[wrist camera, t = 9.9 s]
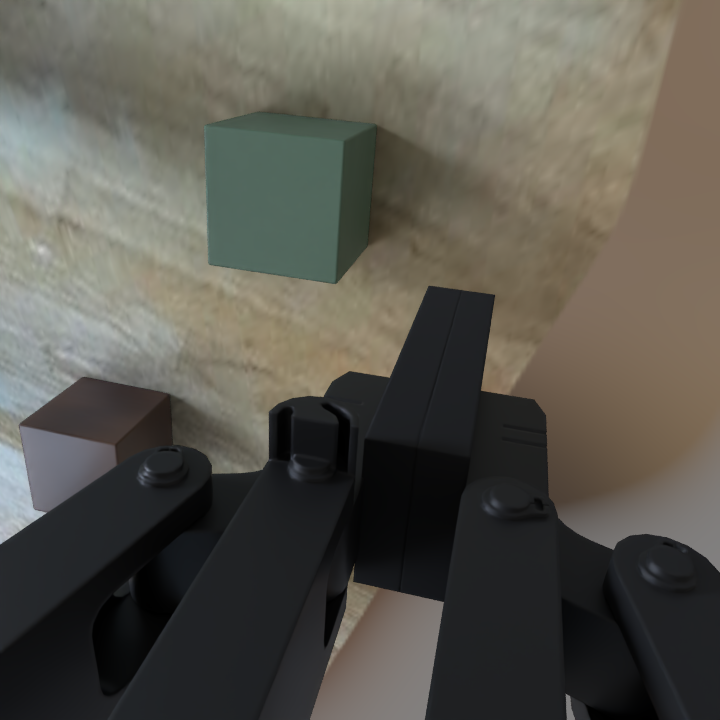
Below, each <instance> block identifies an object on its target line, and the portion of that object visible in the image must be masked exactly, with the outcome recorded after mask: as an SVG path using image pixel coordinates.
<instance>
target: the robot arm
mask: <svg viewBox="0 0 720 720" xmlns="http://www.w3.org/2000/svg"><path fill="white" fill-rule="evenodd" d="M494 299H495V295H493V294H485V293H478V292H471V291H464V290H456V289H449V288H442V287H435V286H428V289H427V291H426V293H425V296H424V298H423V301H422V303H421V305H420V308H419V310H418V312H417V315H416V317H415V320H414V322H413V324H412V327H411V329H410V331H409V334H408V336H407V339H406V341H405V343H404V346H403V348H402V350H401V353H400V355H399V357H398V360H397V362H396V365H395V367H394V369H393V372H392V374H391V376H390V378H388V377H382V376H376V375H370V374H363V373H357V372H351V371H349V372H348V373H346V374H344V375H342V376H341V377H339V378H337V379H336V380H334V381H332V383H331V385H330V386H329V388H328V390H327V392H326V393H325V395H324V397H314V396H306V397H299V398H292V399H289V400H287V401H284V402H281V403H279V404H277V405H276V406H275V407H274V408H273V409H272V410H270V411H269V460H268V462H267V463H266V465H265V467H264V468H263V470H260V471H256V472H248V473H231V474H212V465H211V463H210V461H209V460H208V458H207V456H206V455H204V454H202V453H201V452H199V451H197V450H196V449H193V448H189V447H184V446H180V445H176V446H173V445H172V446H169V445H168V446H158V447H154V448H150V449H145V450H143V451H141V452H139V453H137V454H135V455H133V456H131V457H129V458H127V459H126V460H124V461H123V462H121V463H120V464H119V465H117V466H116V467H114V468H113V469H111V470H110V471H108V472H107V473H105V474H104V475H102V476H101V477H99V478H98V479H96V480H95V481H93V482H92V483H90V484H89V485H88V486H86V487H85V488H83V489H82V490H80V491H79V492H77V493H76V494H74V495H73V496H71V497H70V498H68V499H67V500H65V501H64V502H62V503H61V504H59V505H58V506H57V507H55V508H54V509H52V510H51V511H49V512H48V513H46V514H45V515H43V516H42V517H40V518H39V519H37V520H36V521H34V522H33V523H31V524H30V525H28V526H27V527H26V528H24V529H23V530H21V531H20V532H18V533H17V534H15V535H14V536H12V537H11V538H9V539H8V540H6V541H5V542H3V543H2V544H0V720H310V716H311V714H312V710H313V708H314V705H315V701H316V698H317V695H318V692H319V689H320V686H321V683H322V680H323V677H324V674H325V671H326V668H327V665H328V661H329V658H330V655H331V652H332V649H333V646H334V643H335V640H336V637H337V634H338V631H339V628H340V625H341V621H342V618H343V615H344V612H345V609H346V600H347V586H348V581H349V578H350V575H351V572H352V569H353V566H354V564H355V567H354V580H353V582H357V583H361V584H366V585H370V586H375V587H379V588H384V589H389V590H393V591H397V592H402V593H406V594H411V595H415V596H420V597H424V598H429V599H433V600H438V601H442V602H444V606H443V612H442V618H441V624H440V630H439V636H438V642H437V649H436V655H435V661H434V667H433V674H432V679H431V686H430V692H429V698H428V704H427V710H426V716H425V720H567V716H566V697H565V696H566V694H567V695H569V696H570V697H571V706H572V711H573V714H574V717H575V720H720V572H719V571H718V570H717V569H716V568H715V567H714V566H713V565H712V564H711V563H710V562H709V560H708V559H707V558H706V557H704V556H702V555H701V554H699V553H698V552H696V551H695V550H693V549H692V548H690V547H689V546H687V545H685V544H682V543H680V542H677V541H675V540H672V539H670V538H667V537H661V536H655V535H649V534H642V535H632V536H629V537H627V538H625V539H623V540H621V541H619V542H618V543H617V545H616V547H615V549H614V550H612V549H610V548H607V547H605V546H603V545H600V544H598V543H595V542H593V541H591V540H589V539H587V538H585V537H583V536H581V535H579V534H577V533H575V532H574V531H573V530H571V529H570V528H569V527H567V526H566V525H565V524H564V523H563V522H562V521H561V520H560V519H558V515H557V512H556V509H555V506H554V503H553V502H552V501H551V499H550V498H549V494H548V462H547V435H546V432H547V431H546V415H545V413H544V412H543V411H542V409H541V408H540V407H539V405H538V404H537V403H536V402H535V400H533V399H527V398H521V397H515V396H509V395H503V394H497V393H491V392H485V391H481V386H482V379H483V372H484V366H485V359H486V352H487V346H488V339H489V332H490V326H491V319H492V312H493V306H494ZM565 693H566V694H565Z"/></svg>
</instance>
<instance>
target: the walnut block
mask: <svg viewBox="0 0 720 720" xmlns="http://www.w3.org/2000/svg"><path fill="white" fill-rule="evenodd" d="M19 429H20V434H21V440H22V446H23V451H24V457H25V462H26V468H27V473H28V479H29V485H30V490H31V496H32V501H33V507H34V509H35V510H39V511H43V512H47V513H48V512H49V511H51V510H52V509H54V508H55V507H57V506H58V505H59V504H61V503H62V502H64V501H65V500H67V499H68V498H70V497H71V496H73V495H74V494H76V493H77V492H79V491H80V490H82V489H83V488H85V487H86V486H88V485H89V484H90V483H92V482H93V481H95V480H96V479H98V478H99V477H101V476H102V475H104V474H105V473H107V472H108V471H110V470H111V469H113V468H114V467H116V466H117V465H119V464H120V463H121V462H123V461H124V460H126V459H127V458H129V457H131V456H133V455H135V454H137V453H139V452H141V451H143V450H145V449H150V448H154V447H158V446H168V445H169V446H172V445H173V442H172V426H171V409H170V394H168V393H163V392H158V391H153V390H148V389H143V388H138V387H133V386H128V385H123V384H117V383H112V382H107V381H102V380H97V379H92V378H87V377H82V378H81V379H79V380H78V381H77V382H75V383H74V384H73V385H71V386H70V387H68V388H67V389H66V390H64V391H63V392H62V393H60V394H59V395H58V396H56V397H55V398H54V399H52V400H51V401H49V402H48V403H47V404H45V405H44V406H43V407H41V408H40V409H39V410H37V411H36V412H35V413H33V414H32V415H30V416H29V417H28V418H26V419H25V420H24V421H22V422H21V423H20V424H19Z"/></svg>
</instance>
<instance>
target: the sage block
mask: <svg viewBox="0 0 720 720" xmlns="http://www.w3.org/2000/svg"><path fill="white" fill-rule="evenodd" d="M376 131H377V125H376V124H370V123H361V122H352V121H342V120H333V119H324V118H314V117H305V116H295V115H286V114H277V113H267V112H255V113H251V114H247V115H243V116H239V117H235V118H231V119H227V120H223V121H219V122H215V123H211V124H207V125H205V126H204V135H205V168H206V201H207V233H208V263H209V265H214V266H220V267H227V268H234V269H240V270H247V271H253V272H260V273H266V274H273V275H280V276H286V277H293V278H299V279H306V280H312V281H319V282H326V283H332V284H337V283H338V281H339V280H340V279H341V278H342V277H343V275H344V274H345V273H346V272H347V271H348V269H349V268H350V267H351V266H352V264H353V263H354V262H355V261H356V260H357V258H358V257H359V256H360V255H361V254H362V252H363V251H364V250H365V249H366V248H367V245H368V232H369V219H370V207H371V194H372V182H373V169H374V156H375V144H376Z"/></svg>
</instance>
